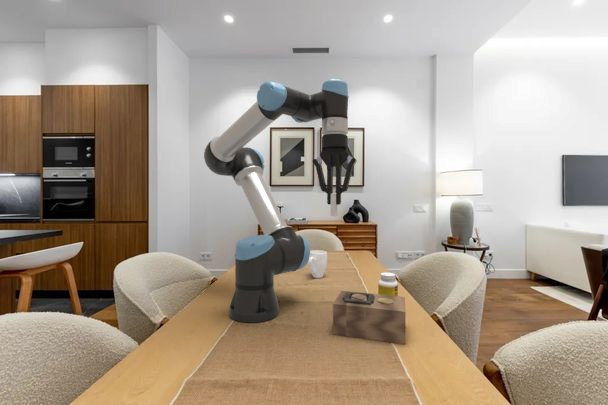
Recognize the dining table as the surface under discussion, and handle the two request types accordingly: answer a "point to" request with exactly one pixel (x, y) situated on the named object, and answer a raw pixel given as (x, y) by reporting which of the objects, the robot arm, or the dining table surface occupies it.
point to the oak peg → (359, 297)
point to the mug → (317, 263)
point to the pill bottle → (388, 284)
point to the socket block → (370, 317)
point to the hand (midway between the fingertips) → (333, 215)
